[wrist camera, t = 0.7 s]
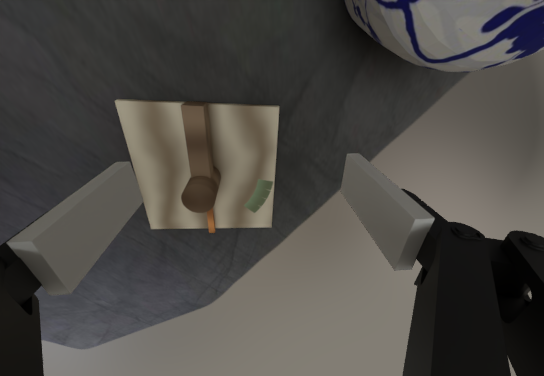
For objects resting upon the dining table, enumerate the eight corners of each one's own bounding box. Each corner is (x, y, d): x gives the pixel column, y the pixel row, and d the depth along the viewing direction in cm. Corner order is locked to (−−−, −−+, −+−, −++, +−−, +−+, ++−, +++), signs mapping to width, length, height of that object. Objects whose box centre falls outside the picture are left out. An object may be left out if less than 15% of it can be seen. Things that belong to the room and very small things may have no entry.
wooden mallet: (224, 229, 41) (220, 257, 35) (200, 229, 40) (191, 258, 35) (215, 101, 30) (207, 110, 24) (182, 99, 29) (164, 109, 23)
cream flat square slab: (153, 224, 41) (151, 229, 40) (119, 99, 30) (114, 100, 29) (270, 223, 43) (271, 227, 42) (278, 105, 32) (279, 107, 31)
